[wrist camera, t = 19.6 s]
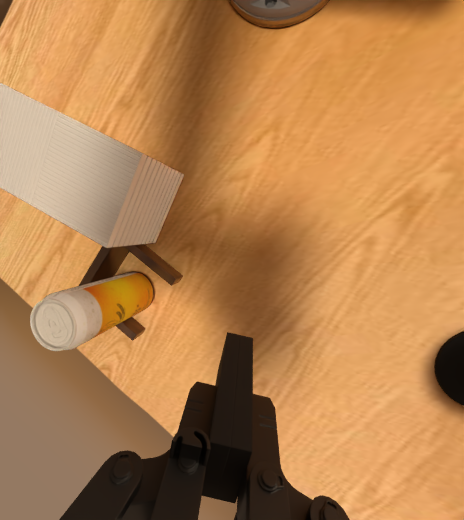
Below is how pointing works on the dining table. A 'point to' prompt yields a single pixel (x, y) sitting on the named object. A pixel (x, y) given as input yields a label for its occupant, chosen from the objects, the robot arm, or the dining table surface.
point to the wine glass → (452, 368)
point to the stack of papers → (82, 174)
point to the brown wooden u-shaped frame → (112, 260)
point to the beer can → (88, 310)
